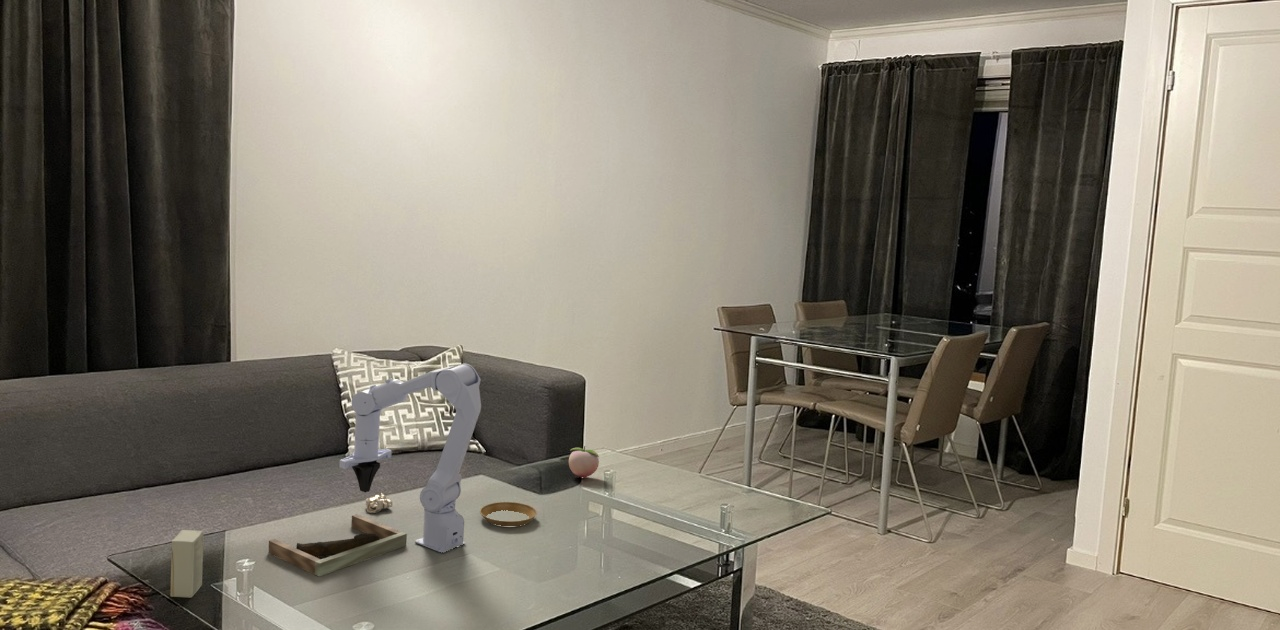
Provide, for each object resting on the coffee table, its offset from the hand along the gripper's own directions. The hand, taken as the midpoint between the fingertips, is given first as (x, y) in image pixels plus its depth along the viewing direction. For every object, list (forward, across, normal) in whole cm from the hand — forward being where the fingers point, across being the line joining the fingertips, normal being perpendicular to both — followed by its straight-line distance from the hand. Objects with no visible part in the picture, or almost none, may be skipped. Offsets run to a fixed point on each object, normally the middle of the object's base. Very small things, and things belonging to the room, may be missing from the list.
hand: (364, 490), depth 244 cm
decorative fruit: (+10, -72, +13) cm, 74 cm away
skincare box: (+10, +49, +3) cm, 50 cm away
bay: (+9, +13, +7) cm, 18 cm away
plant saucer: (+10, -30, +21) cm, 38 cm away
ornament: (+10, -11, -7) cm, 17 cm away
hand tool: (+10, +15, +9) cm, 20 cm away
